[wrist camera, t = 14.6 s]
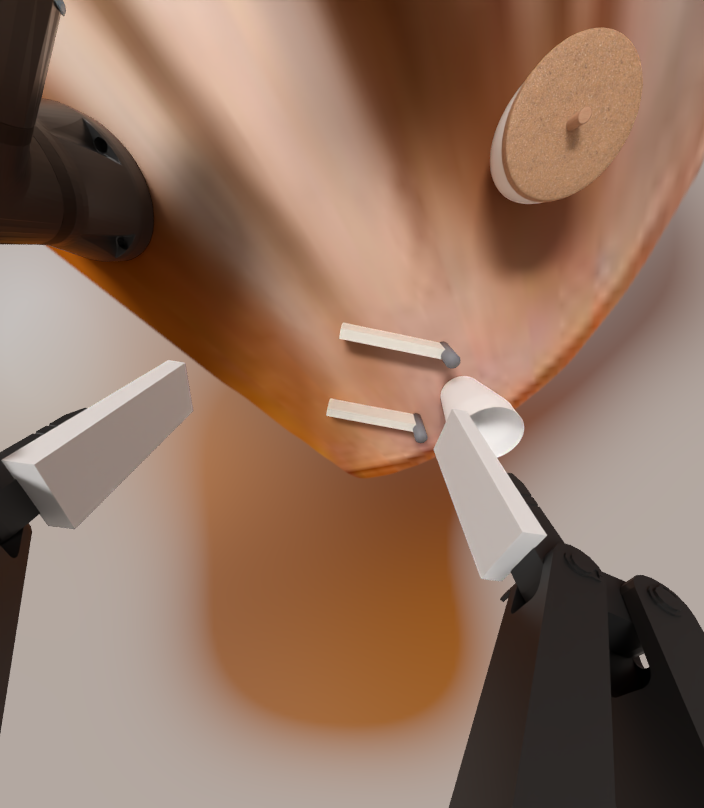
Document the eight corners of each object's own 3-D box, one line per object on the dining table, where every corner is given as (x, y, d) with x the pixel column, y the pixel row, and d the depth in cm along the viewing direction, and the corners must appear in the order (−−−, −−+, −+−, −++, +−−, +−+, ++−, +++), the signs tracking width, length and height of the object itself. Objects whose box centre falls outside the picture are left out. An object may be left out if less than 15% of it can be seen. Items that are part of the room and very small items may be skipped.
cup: (427, 379, 44) (447, 418, 33) (482, 360, 42) (522, 396, 31) (439, 421, 48) (461, 468, 37) (491, 406, 46) (528, 450, 35)
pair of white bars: (328, 406, 47) (324, 425, 42) (343, 320, 39) (339, 331, 34) (418, 423, 48) (425, 443, 43) (450, 343, 40) (462, 356, 35)
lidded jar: (562, 204, 31) (630, 188, 23) (470, 218, 32) (504, 206, 24) (592, 72, 26) (693, -9, 18) (481, 93, 27) (530, 25, 19)
